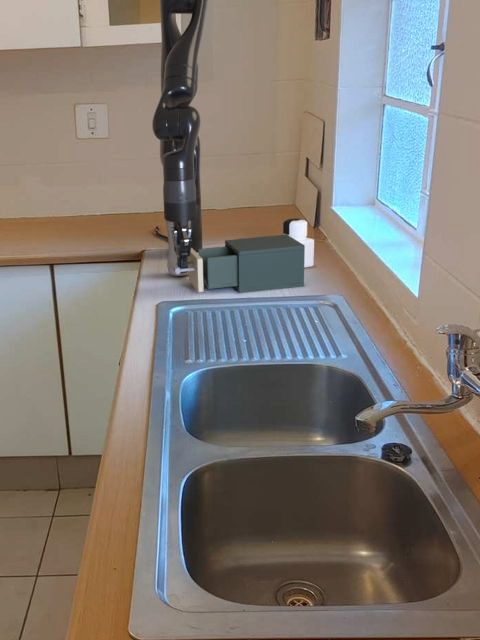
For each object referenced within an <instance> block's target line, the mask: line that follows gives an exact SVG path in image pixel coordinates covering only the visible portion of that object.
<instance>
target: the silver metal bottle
mask: <svg viewBox="0 0 480 640" xmlns="http://www.w3.org/2000/svg"><path fill="white" fill-rule="evenodd" d="M164 220H165V219H164ZM173 223H174V222H169V221H166V220H165V227H166V232H167V237H168V240H167V241H168V251H167V252H168V253H167V260H166V268H167V272H168V273H169V275H171V276H175V277H176V276H177V277H183V276H188V272H187V273H180V274H176V273H175V271H174V270H173V269H172V267H171V266H170V262H172V261H174V262H175V263H177V256H176V252H175V251H174V245H173V238H172V233H171V231H172V230H171V228H172V227H174V225H173ZM190 225H191V220H190V221H189V222H188V227H189V228H190Z"/></svg>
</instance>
